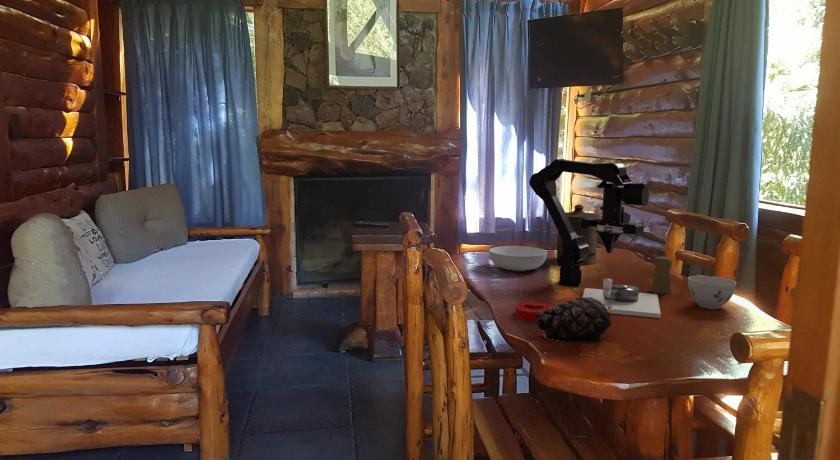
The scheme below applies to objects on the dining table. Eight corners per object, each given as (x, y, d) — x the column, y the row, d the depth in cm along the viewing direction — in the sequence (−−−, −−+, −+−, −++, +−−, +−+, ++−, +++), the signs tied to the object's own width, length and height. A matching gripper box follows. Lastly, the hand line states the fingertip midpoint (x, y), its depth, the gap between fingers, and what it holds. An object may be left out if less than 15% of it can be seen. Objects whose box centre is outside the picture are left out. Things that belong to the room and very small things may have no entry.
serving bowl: (554, 267, 223) (555, 249, 222) (533, 278, 206) (533, 258, 205) (503, 260, 234) (503, 243, 233) (478, 270, 217) (479, 251, 216)
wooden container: (594, 258, 240) (597, 203, 237) (596, 266, 226) (599, 207, 222) (556, 256, 243) (558, 201, 240) (556, 263, 229) (558, 206, 226)
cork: (672, 294, 186) (675, 259, 185) (652, 293, 188) (654, 258, 186) (669, 289, 192) (671, 255, 190) (649, 288, 193) (651, 254, 192)
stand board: (579, 310, 169) (580, 304, 169) (584, 291, 189) (585, 287, 188) (660, 318, 162) (660, 312, 162) (656, 298, 182) (657, 293, 182)
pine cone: (529, 332, 150) (531, 293, 148) (598, 330, 152) (600, 291, 151) (543, 347, 140) (545, 305, 138) (616, 344, 142) (619, 303, 140)
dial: (618, 292, 182) (620, 270, 181) (643, 298, 176) (645, 275, 175) (591, 301, 173) (593, 277, 172) (616, 307, 167) (618, 282, 166)
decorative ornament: (519, 322, 158) (519, 311, 158) (511, 311, 168) (512, 300, 167) (555, 322, 159) (556, 310, 158) (546, 311, 168) (546, 300, 168)
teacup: (743, 312, 168) (745, 284, 166) (699, 313, 167) (701, 285, 166) (714, 298, 183) (717, 272, 181) (674, 298, 182) (676, 272, 181)
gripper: (653, 204, 185) (650, 254, 187) (598, 199, 198) (595, 245, 200) (636, 207, 177) (633, 259, 180) (580, 201, 190) (577, 250, 193)
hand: (609, 253), depth 188 cm, fingers closed
